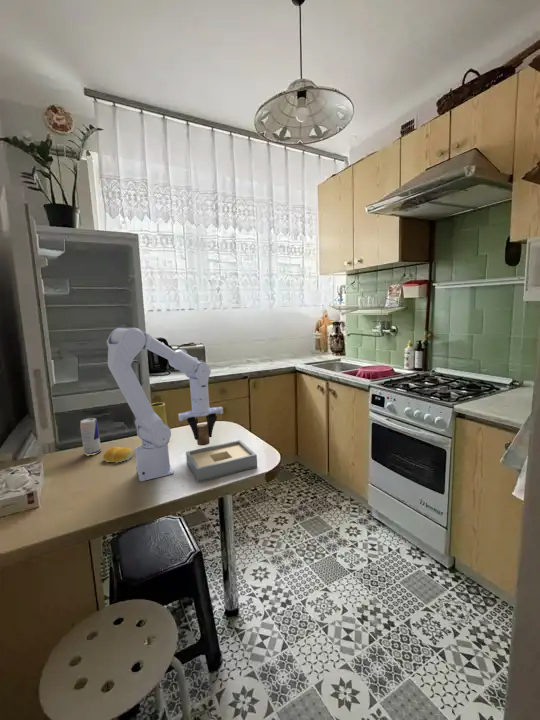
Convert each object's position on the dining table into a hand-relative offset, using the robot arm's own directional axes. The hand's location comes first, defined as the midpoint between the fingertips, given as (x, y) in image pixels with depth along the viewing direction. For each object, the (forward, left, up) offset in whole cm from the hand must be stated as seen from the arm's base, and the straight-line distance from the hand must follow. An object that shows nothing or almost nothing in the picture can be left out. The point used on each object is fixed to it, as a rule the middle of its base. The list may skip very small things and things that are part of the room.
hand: (203, 437), depth 118 cm
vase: (-11, +20, -6) cm, 24 cm away
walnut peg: (0, 0, -2) cm, 2 cm away
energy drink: (-34, +22, -6) cm, 41 cm away
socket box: (+2, -12, -6) cm, 13 cm away
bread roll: (-26, +12, -6) cm, 29 cm away
